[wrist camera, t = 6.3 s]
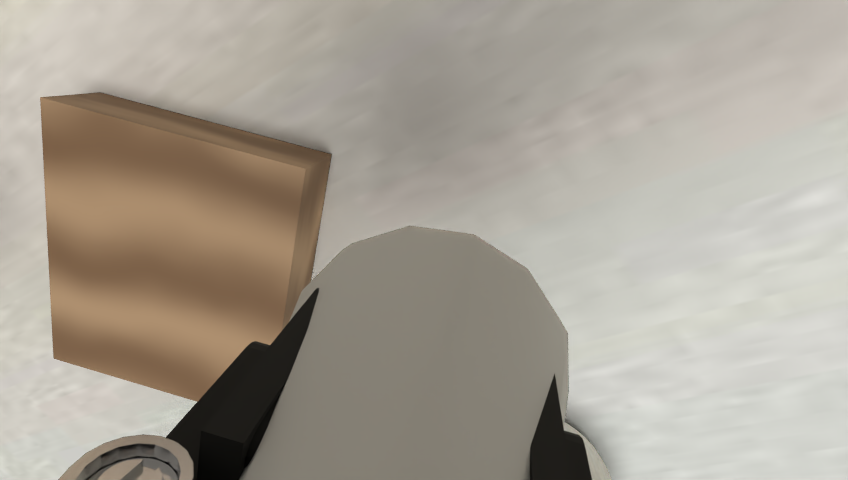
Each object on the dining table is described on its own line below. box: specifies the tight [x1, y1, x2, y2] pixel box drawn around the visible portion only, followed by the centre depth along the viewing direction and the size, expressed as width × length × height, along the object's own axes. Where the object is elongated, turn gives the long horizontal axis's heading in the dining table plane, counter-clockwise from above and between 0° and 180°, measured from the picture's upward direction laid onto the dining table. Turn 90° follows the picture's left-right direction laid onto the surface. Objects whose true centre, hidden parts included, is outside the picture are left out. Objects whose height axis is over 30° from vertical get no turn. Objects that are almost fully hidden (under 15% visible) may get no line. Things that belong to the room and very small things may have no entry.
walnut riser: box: [40, 93, 332, 402], centre depth 29 cm, size 16×14×4 cm
